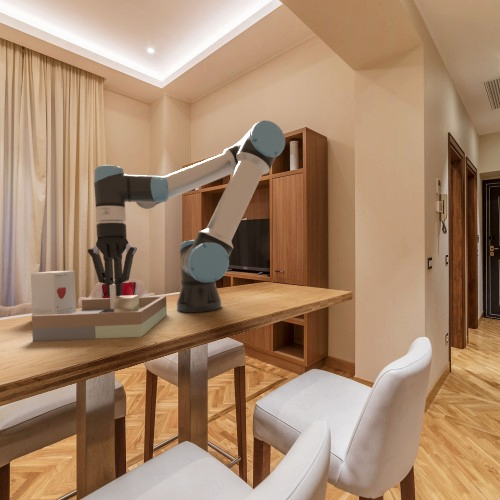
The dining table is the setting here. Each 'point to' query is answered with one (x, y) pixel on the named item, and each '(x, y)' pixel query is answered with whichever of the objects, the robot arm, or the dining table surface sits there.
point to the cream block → (126, 303)
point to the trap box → (100, 321)
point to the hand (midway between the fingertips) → (115, 307)
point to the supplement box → (53, 292)
